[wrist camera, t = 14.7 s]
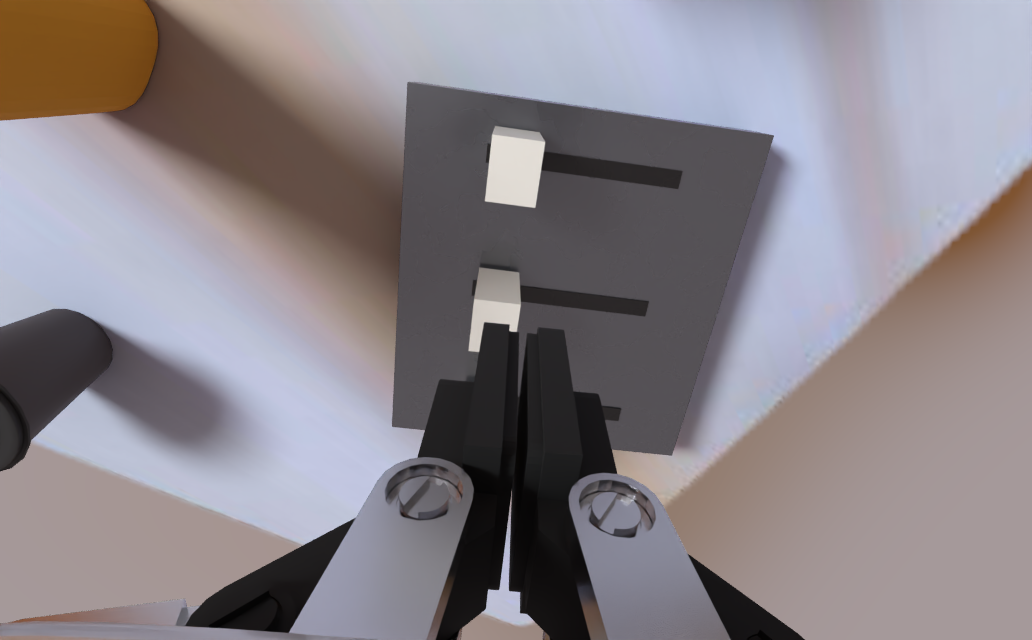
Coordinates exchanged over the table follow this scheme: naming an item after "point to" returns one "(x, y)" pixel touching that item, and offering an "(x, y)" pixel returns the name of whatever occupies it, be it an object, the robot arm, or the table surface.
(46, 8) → the flashlight
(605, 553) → the robot arm
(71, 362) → the coffee cup
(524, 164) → the block
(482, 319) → the block
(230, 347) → the table surface
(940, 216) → the table surface
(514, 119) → the grey slider panel
